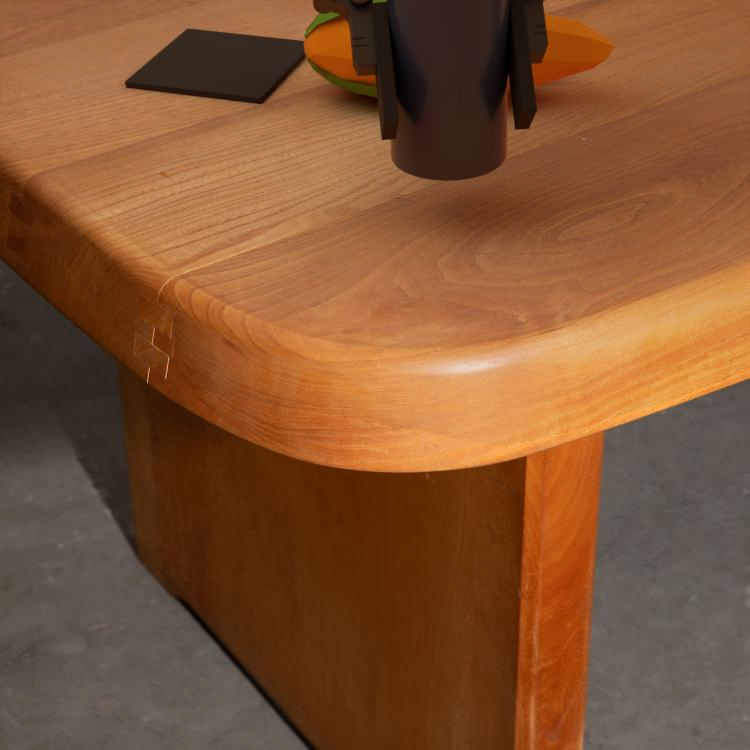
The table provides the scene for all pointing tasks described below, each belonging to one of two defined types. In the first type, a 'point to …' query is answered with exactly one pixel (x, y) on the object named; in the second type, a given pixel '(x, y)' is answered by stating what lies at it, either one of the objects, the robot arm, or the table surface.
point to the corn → (562, 58)
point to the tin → (450, 86)
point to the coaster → (220, 65)
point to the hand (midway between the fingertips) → (458, 124)
